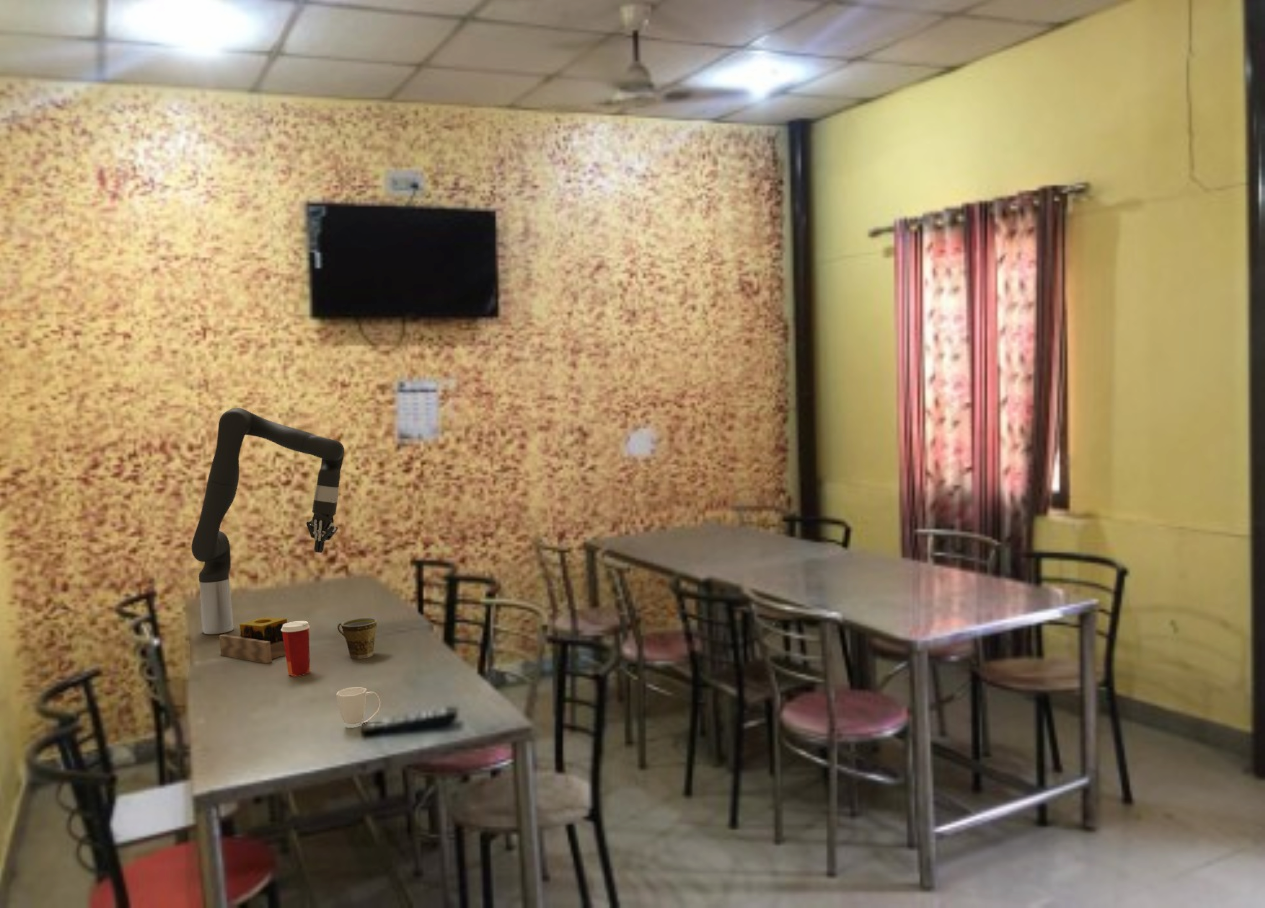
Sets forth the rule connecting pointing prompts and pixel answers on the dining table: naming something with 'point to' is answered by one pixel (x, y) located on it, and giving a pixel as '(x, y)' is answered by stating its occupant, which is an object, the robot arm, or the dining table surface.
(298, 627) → the paper cup
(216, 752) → the dining table surface
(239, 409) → the robot arm
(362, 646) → the ceramic cup
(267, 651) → the brown rectangular block structure
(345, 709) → the cup
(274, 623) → the candle
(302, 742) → the dining table surface
